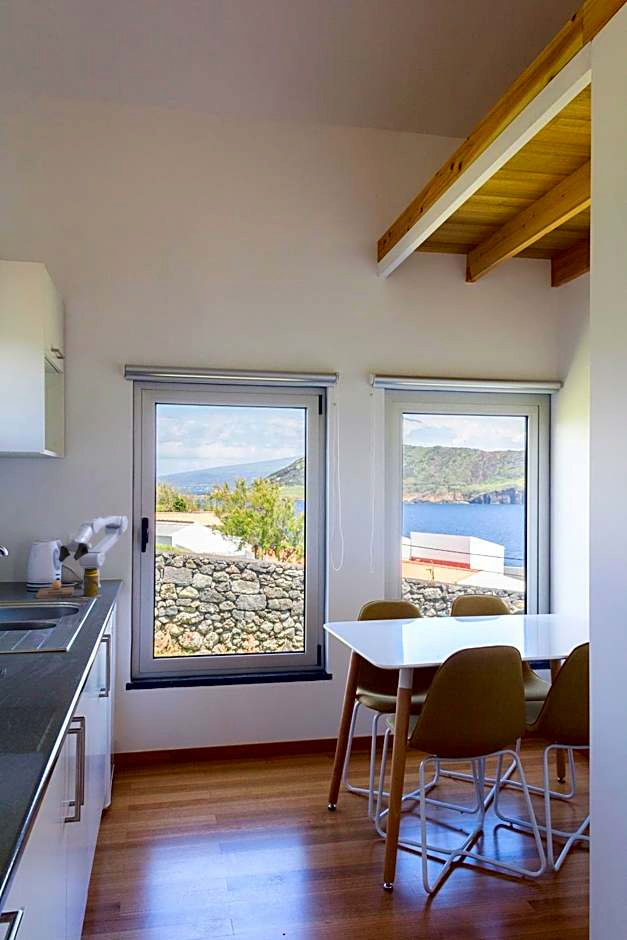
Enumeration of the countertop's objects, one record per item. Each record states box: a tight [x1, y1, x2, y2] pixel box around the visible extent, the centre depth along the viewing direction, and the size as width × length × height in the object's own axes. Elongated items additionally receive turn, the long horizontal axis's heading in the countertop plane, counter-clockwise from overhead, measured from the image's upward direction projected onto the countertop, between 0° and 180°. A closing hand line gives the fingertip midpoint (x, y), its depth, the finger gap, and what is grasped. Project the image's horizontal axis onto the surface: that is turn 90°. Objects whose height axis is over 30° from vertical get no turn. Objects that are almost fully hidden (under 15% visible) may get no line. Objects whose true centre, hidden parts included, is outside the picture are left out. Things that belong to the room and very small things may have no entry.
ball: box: [51, 579, 62, 590], centre depth 345 cm, size 4×4×4 cm
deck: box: [35, 586, 75, 599], centre depth 341 cm, size 18×14×2 cm
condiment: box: [75, 567, 102, 599], centre depth 337 cm, size 7×8×12 cm
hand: (67, 559), depth 340 cm, fingers open, 7 cm apart
